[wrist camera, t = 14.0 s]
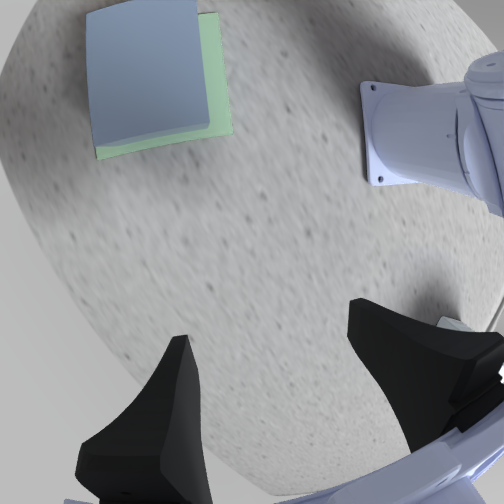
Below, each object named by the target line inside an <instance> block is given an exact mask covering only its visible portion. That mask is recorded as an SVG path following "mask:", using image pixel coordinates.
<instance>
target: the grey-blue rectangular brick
mask: <svg viewBox="0 0 504 504" xmlns="http://www.w3.org/2000/svg"><path fill="white" fill-rule="evenodd" d="M86 68H87V87H88V100H89V110H90V120H91V128H92V136H93V144H94V147H110V146H122V145H126V144H130V143H134V142H139V141H143V140H148V139H152V138H157V137H162V136H167V135H173V134H178V133H184V132H189V131H196V130H202V129H207V128H208V126H209V124H210V118H209V110H208V102H207V93H206V85H205V77H204V68H203V59H202V50H201V41H200V32H199V22H198V12H197V2H196V0H131V1H127V2H123V3H120V4H116V5H112V6H109V7H106V8H102V9H99V10H96V11H93V12H90V13H87V14H86Z"/></svg>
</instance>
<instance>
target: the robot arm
mask: <svg viewBox="0 0 504 504" xmlns="http://www.w3.org/2000/svg"><path fill="white" fill-rule="evenodd" d="M371 85H372V86H373V88H374V90H373V91H372V89H371ZM360 92H361V100H362V109H363V119H364V130H365V142H366V157H367V179H368V183H369V184H370V185H372V186H383V185H394V184H407V183H420V182H421V183H425V184H429V185H433V186H436V187H440V188H443V189H447V190H450V191H454V192H457V193H460V194H464V195H467V196H470V197H473V198H476V199H479V200H483V201H484V202H485V203H486V204H487V206H488V209H489V212H490V213H492V214H495V215H498V216H500V217H503V218H504V50H503V51H499V52H495V53H492V54H489V55H486V56H483V57H481V58H479V59H477V60H475V61H474V62H472V63H471V64H470V66H469V68H468V71H467V73H466V74H465V76H464V82H452V83H443V84H434V85H426V86H419V87H410V86H404V85H397V84H390V83H382V82H373V81H364V82H362V83H361V84H360ZM379 176H380V178H381V179H380V181H378V177H379ZM347 337H348V339H349V341H350V343H351V345H352V347H353V349H354V351H355V352H356V354H357V356H358V357H359V358H360V360H361V361H362V363H363V364H364V365H365V367H366V368H367V369H368V371H369V372H370V373H371V375H372V376H373V378H374V379H375V380H376V382H377V383H378V384H379V386H380V387H381V389H382V390H383V392H384V394H385V396H386V397H387V399H388V401H389V403H390V405H391V407H392V409H393V411H394V413H395V415H396V417H397V419H398V421H399V423H400V426H401V428H402V431H403V433H404V435H405V438H406V440H407V443H408V446H409V449H410V452H411V454H410V455H408V456H406V457H404V458H402V459H400V460H398V461H396V462H394V463H392V464H390V465H387V466H385V467H383V468H381V469H379V470H376V471H374V472H372V473H369V474H367V475H365V476H362V477H360V478H357V479H355V480H352V481H349V482H347V483H344V484H341V485H338V486H335V487H332V488H329V489H326V490H323V491H320V492H317V493H314V494H311V495H307V496H303V497H299V498H296V499H292V500H288V501H283V502H279V503H275V504H486V503H485V502H484V500H483V498H482V497H481V496H480V494H479V493H478V491H477V490H476V488H475V487H474V485H473V484H472V482H474V481H475V480H476V479H477V478H478V477H479V476H481V475H482V474H483V473H484V472H485V471H487V470H488V469H489V468H490V467H491V466H492V465H493V464H494V463H495V462H497V461H498V460H499V459H500V458H501V457H502V456H503V455H504V384H503V383H501V381H502V379H503V377H502V376H501V375H500V374H499V371H500V369H501V367H502V365H503V363H504V337H503V336H502V335H501V334H499V333H498V332H467V331H458V330H452V329H446V328H441V327H437V326H433V325H430V324H426V323H423V322H420V321H417V320H414V319H411V318H409V317H406V316H403V315H401V314H399V313H396V312H394V311H392V310H389V309H387V308H385V307H383V306H380V305H378V304H376V303H374V302H371V301H369V300H366V299H364V298H358V299H354V300H351V301H350V303H349V319H348V332H347ZM75 476H76V479H77V480H78V481H79V482H80V483H81V484H82V485H83V486H84V487H85V488H86V489H88V490H89V491H90V492H91V493H93V494H94V495H95V496H96V497H98V498H99V499H100V501H99V504H213V502H212V498H211V493H210V489H209V484H208V480H207V473H206V468H205V462H204V456H203V450H202V442H201V416H200V382H199V374H198V368H197V365H196V362H195V359H194V355H193V352H192V349H191V346H190V342H189V339H188V335H181V336H174V337H173V338H172V339H171V341H170V343H169V345H168V347H167V349H166V351H165V353H164V355H163V357H162V359H161V361H160V362H159V364H158V366H157V368H156V369H155V371H154V373H153V374H152V376H151V377H150V379H149V380H148V382H147V384H146V385H145V386H144V388H143V389H142V391H141V392H140V393H139V394H138V396H137V397H136V398H135V399H134V401H133V402H132V403H131V404H130V405H129V406H128V407H127V408H126V409H125V410H124V411H123V412H122V413H121V414H120V415H119V416H118V417H117V418H116V419H115V420H114V421H113V422H111V423H110V424H109V425H108V426H106V427H105V428H104V429H103V430H101V431H100V432H99V433H97V434H96V435H94V436H93V437H91V438H90V439H88V440H87V441H85V442H84V443H82V445H81V448H80V451H79V455H78V461H77V466H76V471H75ZM64 504H92V503H87V502H81V501H75V500H70V499H65V500H64Z"/></svg>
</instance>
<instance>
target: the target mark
mask: <svg viewBox="0 0 504 504" xmlns="http://www.w3.org/2000/svg"><path fill="white" fill-rule="evenodd" d="M198 22H199V32H200V41H201V50H202V59H203V68H204V77H205V85H206V93H207V102H208V110H209V118H210V124H209V126H208V128H207V129H202V130H196V131H189V132H184V133H178V134H173V135H167V136H162V137H157V138H152V139H148V140H143V141H139V142H134V143H130V144H126V145H122V146H110V147H95V148H96V155H97V161H99V160H103V159H106V158H110V157H114V156H118V155H122V154H126V153H131V152H135V151H139V150H144V149H149V148H153V147H158V146H163V145H168V144H174V143H179V142H185V141H191V140H197V139H203V138H210V137H216V136H224V135H231V134H233V130H232V122H231V114H230V106H229V98H228V89H227V81H226V73H225V65H224V57H223V49H222V41H221V32H220V24H219V16H218V13H207V14H198Z"/></svg>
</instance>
